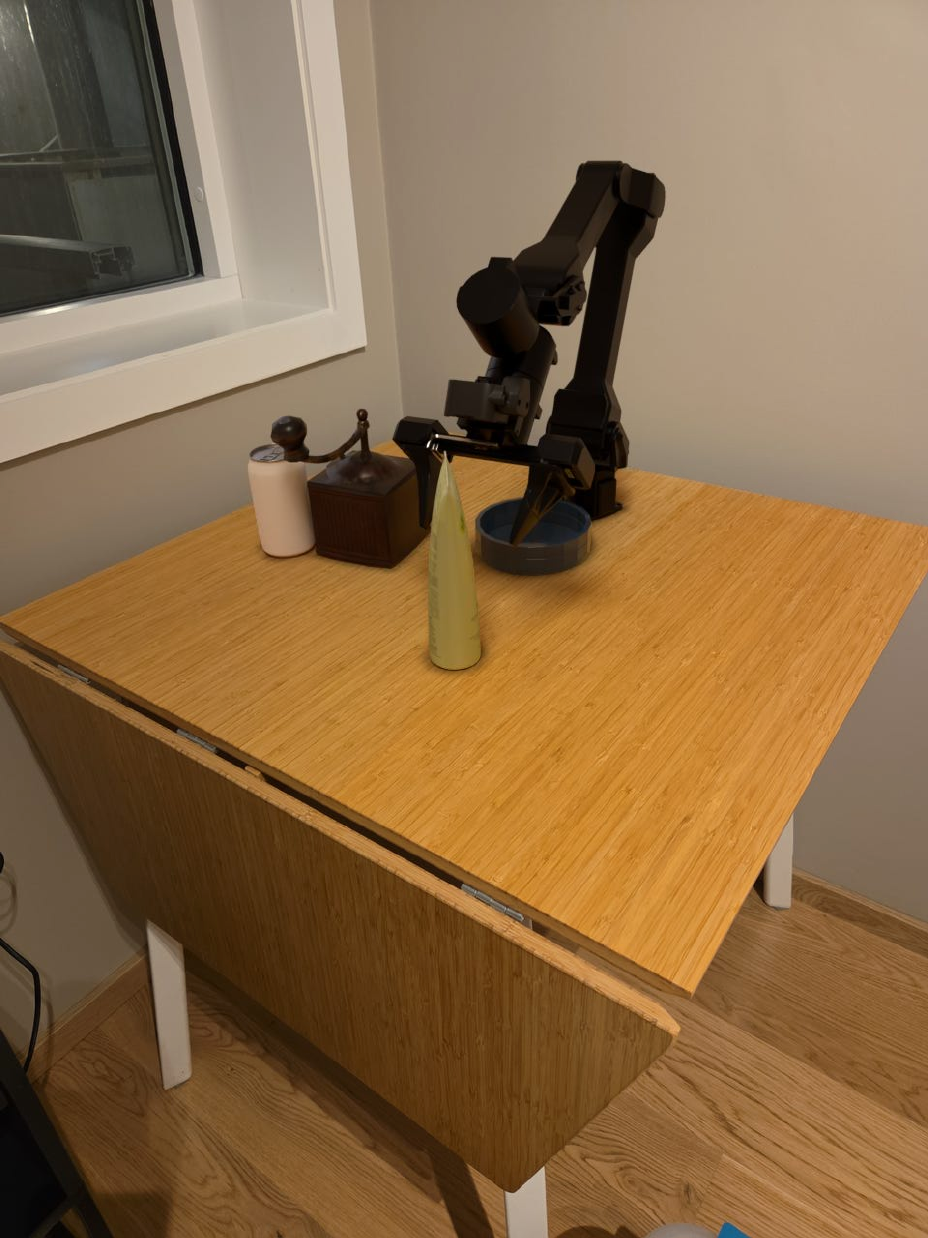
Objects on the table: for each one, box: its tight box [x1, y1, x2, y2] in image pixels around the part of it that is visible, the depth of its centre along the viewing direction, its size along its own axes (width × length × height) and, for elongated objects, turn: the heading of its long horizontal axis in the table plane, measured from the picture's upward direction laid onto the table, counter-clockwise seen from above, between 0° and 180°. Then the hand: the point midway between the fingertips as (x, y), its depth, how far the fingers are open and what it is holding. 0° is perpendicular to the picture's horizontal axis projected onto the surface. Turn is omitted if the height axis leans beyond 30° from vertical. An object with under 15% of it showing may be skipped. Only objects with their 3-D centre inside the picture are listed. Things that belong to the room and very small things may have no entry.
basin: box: [474, 496, 592, 576], centre depth 104 cm, size 13×13×4 cm
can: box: [247, 442, 316, 559], centre depth 105 cm, size 6×6×12 cm
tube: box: [427, 451, 482, 671], centre depth 81 cm, size 6×5×20 cm
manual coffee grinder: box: [270, 408, 432, 569], centre depth 101 cm, size 16×11×18 cm
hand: (466, 536), depth 83 cm, fingers open, 9 cm apart
